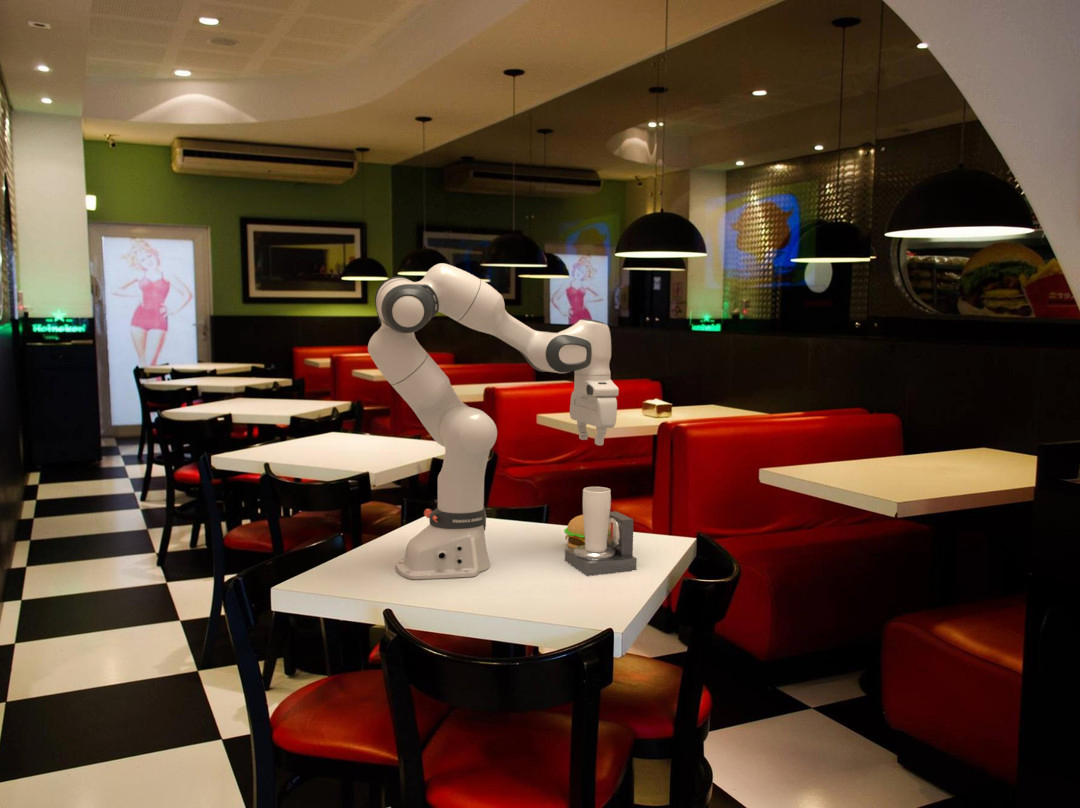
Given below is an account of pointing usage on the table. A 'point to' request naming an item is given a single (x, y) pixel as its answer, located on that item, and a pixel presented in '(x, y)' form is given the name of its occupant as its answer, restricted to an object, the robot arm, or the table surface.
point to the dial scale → (607, 550)
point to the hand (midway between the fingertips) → (591, 442)
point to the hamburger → (575, 532)
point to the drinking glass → (596, 517)
